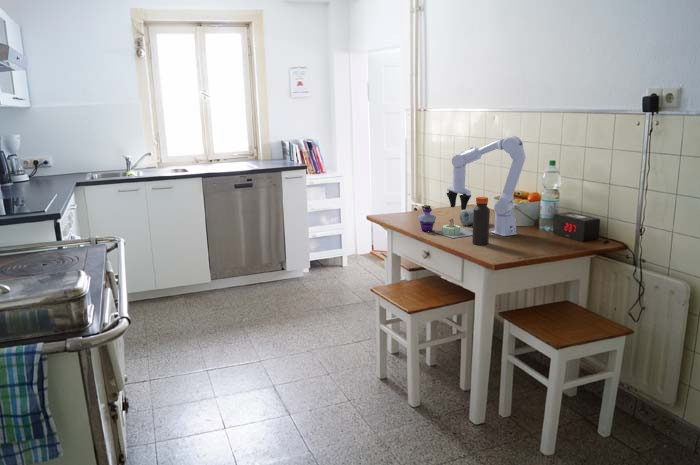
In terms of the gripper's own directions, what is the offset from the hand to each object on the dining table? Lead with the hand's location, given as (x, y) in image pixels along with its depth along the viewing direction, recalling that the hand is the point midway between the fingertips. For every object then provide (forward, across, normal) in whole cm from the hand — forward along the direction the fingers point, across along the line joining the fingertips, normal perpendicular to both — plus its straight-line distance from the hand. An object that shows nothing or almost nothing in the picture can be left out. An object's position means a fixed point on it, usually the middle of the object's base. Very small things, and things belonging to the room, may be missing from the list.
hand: (458, 208), depth 273 cm
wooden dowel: (+10, -6, +9) cm, 15 cm away
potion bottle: (+10, +5, +15) cm, 19 cm away
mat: (+10, -8, +6) cm, 14 cm away
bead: (+10, -6, +9) cm, 15 cm away
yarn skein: (+10, +3, -12) cm, 16 cm away
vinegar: (+10, -27, +11) cm, 31 cm away
